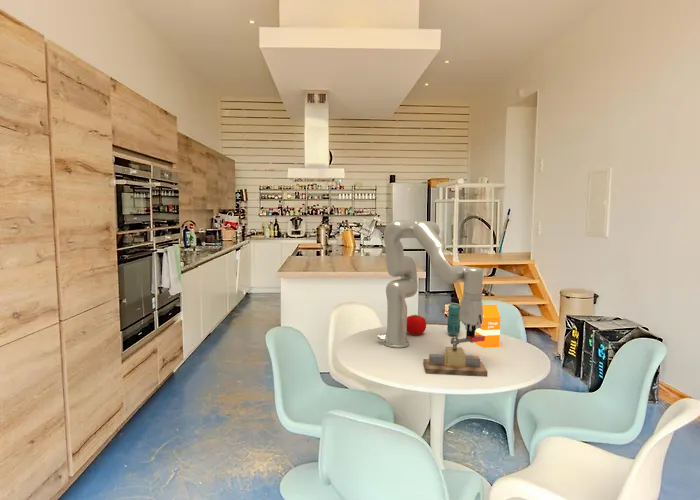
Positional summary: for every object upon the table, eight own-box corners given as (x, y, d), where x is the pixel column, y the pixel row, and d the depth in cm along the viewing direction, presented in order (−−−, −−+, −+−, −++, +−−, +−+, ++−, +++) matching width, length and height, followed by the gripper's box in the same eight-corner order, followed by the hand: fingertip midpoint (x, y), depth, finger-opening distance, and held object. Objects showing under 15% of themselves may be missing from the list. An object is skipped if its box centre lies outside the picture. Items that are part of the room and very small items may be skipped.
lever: (449, 343, 180) (449, 336, 180) (480, 338, 187) (480, 332, 187) (454, 345, 177) (454, 338, 177) (485, 341, 184) (485, 334, 184)
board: (425, 373, 175) (425, 368, 175) (423, 363, 187) (423, 358, 187) (487, 376, 173) (487, 371, 173) (480, 366, 185) (481, 361, 185)
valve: (430, 366, 178) (430, 345, 177) (428, 361, 184) (429, 341, 183) (480, 368, 176) (481, 347, 175) (477, 363, 182) (478, 343, 182)
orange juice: (499, 347, 212) (501, 306, 210) (482, 348, 210) (484, 306, 209) (491, 342, 220) (492, 302, 218) (474, 343, 218) (476, 303, 216)
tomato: (406, 337, 227) (406, 317, 226) (401, 331, 238) (402, 312, 237) (428, 337, 228) (429, 317, 227) (423, 331, 239) (424, 312, 238)
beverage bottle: (445, 333, 234) (446, 296, 232) (457, 333, 235) (458, 296, 233) (449, 337, 228) (450, 299, 226) (461, 337, 228) (463, 299, 227)
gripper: (453, 294, 190) (451, 335, 192) (477, 300, 177) (475, 345, 178) (467, 293, 193) (465, 333, 195) (492, 299, 180) (489, 343, 182)
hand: (470, 339), depth 187 cm, fingers closed
